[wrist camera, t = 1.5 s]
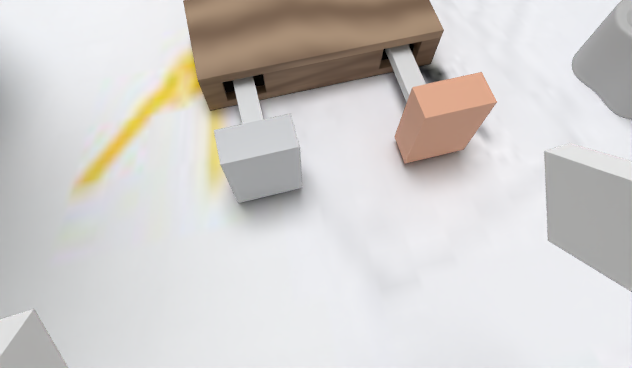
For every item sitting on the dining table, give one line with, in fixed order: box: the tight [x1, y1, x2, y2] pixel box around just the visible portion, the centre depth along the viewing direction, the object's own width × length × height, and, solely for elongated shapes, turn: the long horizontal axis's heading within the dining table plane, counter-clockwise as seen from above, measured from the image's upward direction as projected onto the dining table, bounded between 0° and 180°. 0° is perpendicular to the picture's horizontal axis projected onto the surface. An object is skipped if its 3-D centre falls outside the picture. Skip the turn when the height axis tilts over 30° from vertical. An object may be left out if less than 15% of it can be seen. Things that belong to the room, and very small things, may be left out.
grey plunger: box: [214, 76, 302, 203], centre depth 37 cm, size 12×6×8 cm, turn 15°
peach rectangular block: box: [385, 44, 497, 163], centre depth 39 cm, size 12×6×8 cm, turn 15°
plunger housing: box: [183, 0, 444, 110], centre depth 44 cm, size 10×24×5 cm, turn 105°
